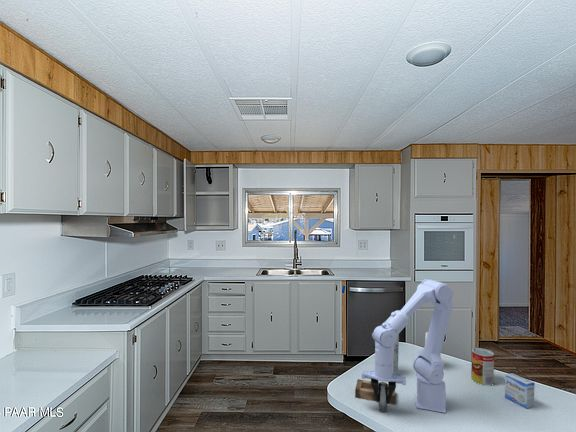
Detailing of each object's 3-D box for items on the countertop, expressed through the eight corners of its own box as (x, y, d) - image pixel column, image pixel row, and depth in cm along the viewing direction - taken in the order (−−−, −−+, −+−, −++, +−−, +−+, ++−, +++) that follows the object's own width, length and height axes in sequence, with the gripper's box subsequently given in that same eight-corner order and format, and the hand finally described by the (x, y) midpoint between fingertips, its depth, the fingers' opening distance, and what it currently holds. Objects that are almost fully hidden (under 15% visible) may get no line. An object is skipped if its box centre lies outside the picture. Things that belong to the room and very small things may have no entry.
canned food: (481, 375, 141) (481, 347, 141) (498, 384, 133) (498, 354, 133) (466, 377, 138) (467, 349, 138) (483, 387, 131) (483, 356, 131)
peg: (387, 408, 115) (387, 382, 115) (387, 413, 112) (387, 387, 112) (378, 406, 116) (378, 381, 116) (378, 411, 113) (378, 385, 113)
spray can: (383, 369, 145) (383, 324, 145) (398, 372, 142) (399, 326, 142) (381, 376, 139) (382, 328, 139) (397, 379, 136) (398, 330, 136)
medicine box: (504, 397, 123) (504, 374, 123) (512, 395, 125) (512, 372, 125) (526, 409, 116) (527, 384, 116) (534, 406, 118) (534, 382, 118)
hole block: (395, 393, 125) (395, 385, 125) (395, 404, 118) (395, 396, 118) (357, 386, 130) (357, 379, 130) (355, 397, 122) (355, 389, 122)
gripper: (405, 360, 116) (404, 399, 116) (362, 354, 120) (362, 392, 120) (406, 369, 109) (405, 410, 109) (361, 363, 114) (360, 402, 114)
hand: (383, 401), depth 114 cm, fingers closed on peg, 3 cm apart
